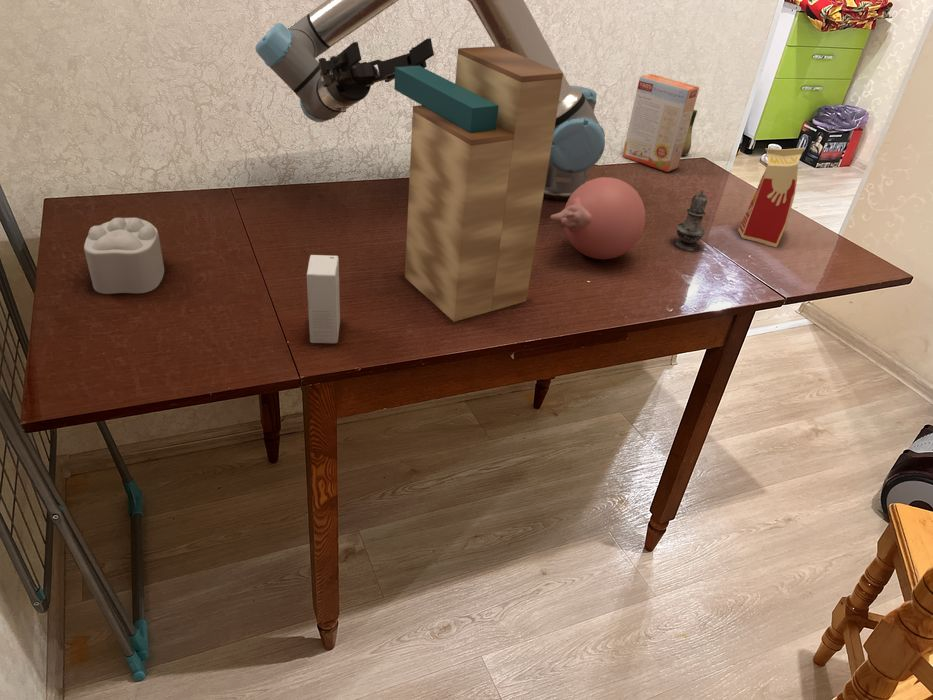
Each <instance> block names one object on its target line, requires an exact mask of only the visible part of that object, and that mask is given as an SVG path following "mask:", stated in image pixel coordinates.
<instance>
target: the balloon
mask: <svg viewBox="0 0 933 700" xmlns="http://www.w3.org/2000/svg"><path fill="white" fill-rule="evenodd" d="M566 201H567V202H566V204H565V206H564V208H563V209H562V210H561V211H559V212H557V213H555V214H554V213H553V214H551V215H550V220H551V221H553V222H554V221H555V222H557V224H558V226H559V227H561V228H562V229H564V233H565V235H566V238H567V240H568V242H569V243H570V245H571V246H572V247H573V248H574V249H575V250H577V251H578V252H579V253H581V254H582V255H584V256H586V257H588V258H591V259H596V260H610V259H615V258H618V257H620V256H622V255H624V254H626V253H628V252H629V251H630V250H631V249H632V248H633V247H635V245H636V244H637V243H638V242H639V240H640V238H641V236H642V235H643V232H644V229H645V225H646V209H645V205H644V201H643V199H642V198H641V196H640V194H639V193H638V191H637V190H636V189H635V188H634V187H633V186H632V185H630V184H629V183H627V182H625V181H624V180H621V179H619V178H615V177H609V176H604V177H596V178H593V179H590V180H587V182H586V183H584V184H582V185H581V186H580V187H578V188H577V189H576V190H575V191H574V192H573V193H572V195H571V196H570V198H569V199H568V200H566Z"/></svg>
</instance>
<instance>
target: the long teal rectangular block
mask: <svg viewBox="0 0 933 700" xmlns="http://www.w3.org/2000/svg"><path fill="white" fill-rule="evenodd" d="M393 90H395V91H396V92H397V93H400V94H401V95H403V96H405V97H406V98H408V99H410V100H412V101H414V102H415V103H417V104H418V105H422V106H424V107H426V108H428V109H429V110H431V111H433V112H435V113H436V114H438V115H440V116H442V117H444V118H445V119H447V120H449V121H451V122H452V123H454V124H456V125H458V126H459V127H461V128H463V129H465V130H466V131H468V132H470V133H473V132H481V131H489V130H496V124H497V115H498V107H499V105H497V104H495V103H493V102H491V101H489V100H487V99H485V98H483V97H481V96H479V95H477V94H475V93H473V92H471V91H469V90H467V89H465V88H463V87H461V86H459V85H457V84H455V82H453V81H450V80H448V79H447V78H444V77H443V76H442V75H441V76H440V75H439V74H437V73H435V72H433V71H431V70H429V69H427V68H426V67H425V68H423V67H421V66H406V67H395V79H394V88H393Z"/></svg>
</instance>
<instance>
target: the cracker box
mask: <svg viewBox="0 0 933 700" xmlns="http://www.w3.org/2000/svg"><path fill="white" fill-rule="evenodd" d="M699 91H700V86H697V85H693V84H689V83H686V82H682V81H679V80H675V79H672V78H669V77H668V78H667V77H664V76H660V75H658V74H657V75H656V74H653V73H648V74H645V75H641V76H639V80H638V84H637V88H636V93H635V97H634V101H633V105H632V110H631V115H630V119H629V123H628V128H627V133H626V138H625V142H624V146H623V151H622V157H623V158H626V159H628V160H631V161H634V162H637V163H640V164H642V165H646V166H648V167H652V168H654V169H657V170H659V171H663V172H665V173H669V172H672V171H674V170H677V169H678V168H679V166H680V162H681V158H682V156H683V155H682V151H683V147H684V144H685V140H686V136H687V132H688V129H689V125H690V121H691V117H692V114H693V110H695V106H696V102H697V98H698V94H699Z"/></svg>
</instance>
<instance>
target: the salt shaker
mask: <svg viewBox="0 0 933 700" xmlns="http://www.w3.org/2000/svg"><path fill="white" fill-rule="evenodd" d="M704 193H705V192H704V190H701V191H700V193H696V194H694V195H693V196H692V199H691V203H690V206H689V208H687V210H686V212H687V215H686V218H685V221H684V222H680V223H678V224H677V225H676V236H677V237H678V238H676V239H674V240H673V245H674V246H675V247H676V248H677V249H678V248H679V249H680V250H684V251H688V252H694V251H697V250H698V251H699V249H700V244H699V243H698V242H699V241H701V240H702V238H703V237H704V236H705V234H706V229H705V228H703V227H702V221H703V218H704V216H706V212H705V210H706V206H707V204H708V197H707V195H705V194H704Z"/></svg>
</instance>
